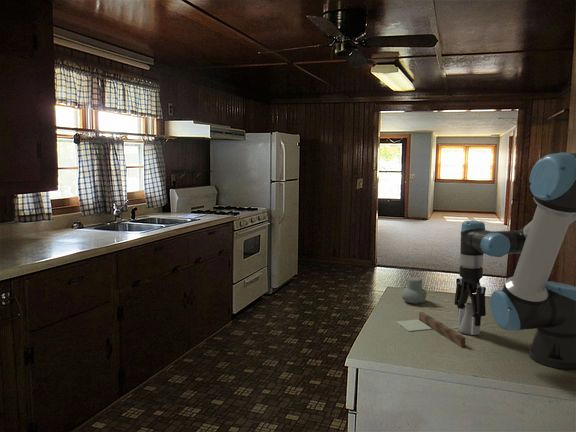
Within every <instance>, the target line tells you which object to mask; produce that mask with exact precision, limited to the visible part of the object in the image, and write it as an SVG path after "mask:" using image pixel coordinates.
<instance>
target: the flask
mask: <svg viewBox="0 0 576 432" xmlns="http://www.w3.org/2000/svg"><path fill="white" fill-rule="evenodd" d="M465 306H466V308H465V314H464V317H463V319H462V322H461V324H460V326H459V327H458V329H457V331H458V333H459V334H460V333H461V335H468V336H470V335H472V334H471V329H472V315H474V313H473V307H472V302H466V303H465Z"/></svg>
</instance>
